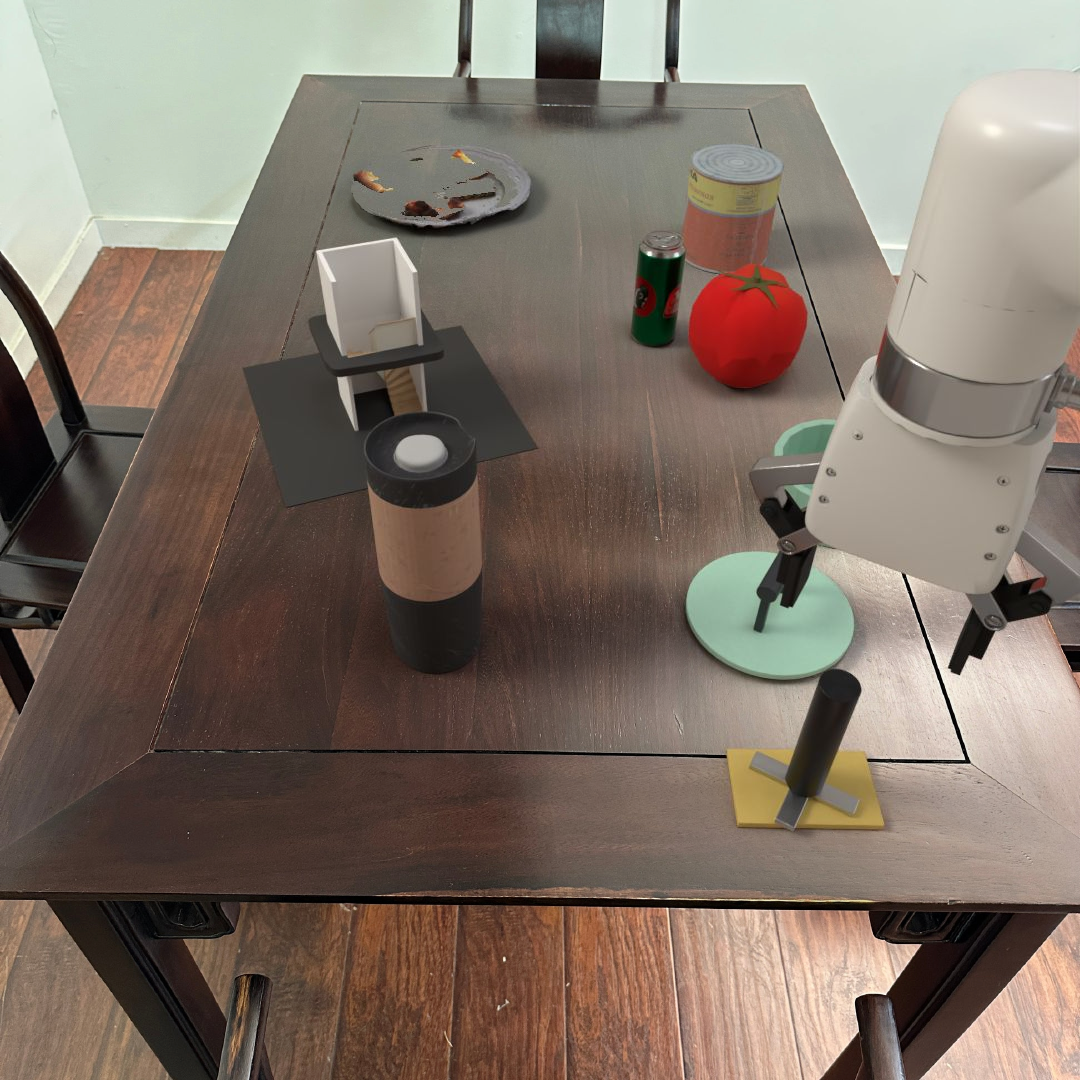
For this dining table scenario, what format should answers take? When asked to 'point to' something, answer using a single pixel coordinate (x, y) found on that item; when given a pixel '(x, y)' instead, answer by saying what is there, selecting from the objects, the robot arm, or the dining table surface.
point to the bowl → (804, 451)
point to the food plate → (474, 203)
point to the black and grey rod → (816, 750)
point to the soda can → (658, 287)
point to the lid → (768, 618)
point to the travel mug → (427, 537)
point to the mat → (765, 796)
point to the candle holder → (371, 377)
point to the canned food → (730, 206)
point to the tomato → (747, 326)
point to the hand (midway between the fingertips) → (873, 623)
